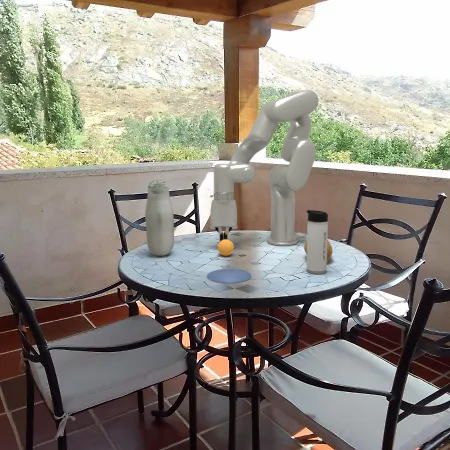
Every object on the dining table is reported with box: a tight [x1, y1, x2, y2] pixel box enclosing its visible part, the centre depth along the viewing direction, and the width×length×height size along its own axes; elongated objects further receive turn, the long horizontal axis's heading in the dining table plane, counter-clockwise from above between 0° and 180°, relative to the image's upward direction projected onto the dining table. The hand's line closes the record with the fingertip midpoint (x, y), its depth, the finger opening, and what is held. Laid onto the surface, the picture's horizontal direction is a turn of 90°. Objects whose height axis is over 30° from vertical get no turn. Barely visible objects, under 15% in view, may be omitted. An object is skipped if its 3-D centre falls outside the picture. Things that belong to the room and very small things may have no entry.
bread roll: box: [303, 239, 333, 262], centre depth 154 cm, size 10×15×8 cm, turn 178°
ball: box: [217, 239, 235, 257], centre depth 161 cm, size 6×6×6 cm
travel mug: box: [306, 209, 329, 275], centre depth 139 cm, size 6×7×20 cm
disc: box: [206, 268, 252, 284], centre depth 138 cm, size 14×14×1 cm
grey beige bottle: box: [144, 179, 175, 257], centre depth 161 cm, size 10×10×28 cm
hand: (223, 243), depth 170 cm, fingers closed
